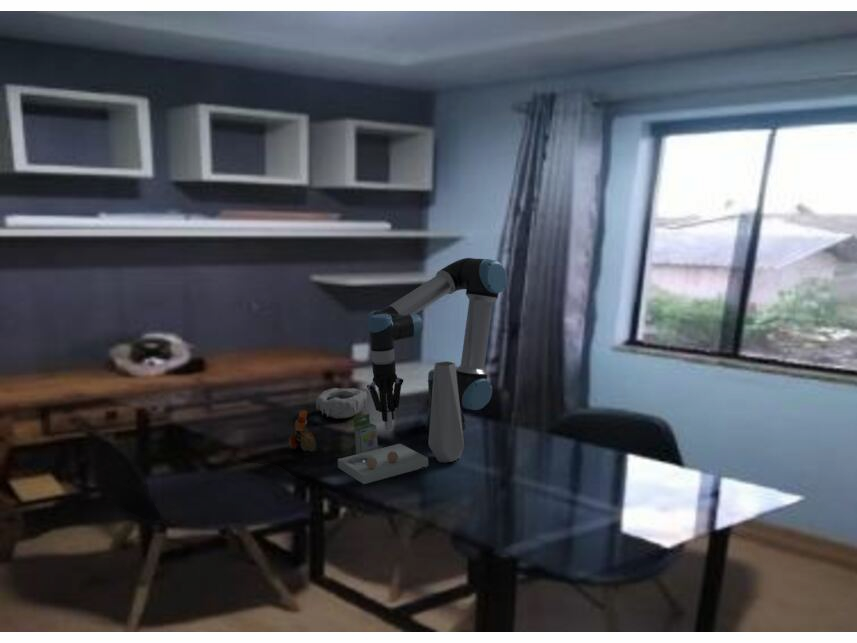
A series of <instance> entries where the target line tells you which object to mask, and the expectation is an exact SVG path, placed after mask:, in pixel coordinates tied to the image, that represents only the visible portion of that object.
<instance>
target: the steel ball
mask: <svg viewBox="0 0 857 643" xmlns="http://www.w3.org/2000/svg"><path fill="white" fill-rule="evenodd" d="M365 462H366V461H365V460H364V459H359V460H357V463H365Z"/></svg>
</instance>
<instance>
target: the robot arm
mask: <svg viewBox="0 0 857 643" xmlns="http://www.w3.org/2000/svg"><path fill="white" fill-rule="evenodd" d="M507 284H508V273H507V271H506V269H505V267H504V265H503V264H502V263H501V262H500V261H498V260H496V259H491V258H473V257H465V258H462V259H458V260H456V261H453V262H452V263H450V264H448V265H446V266H445V267H442V268H441V269H440V270H439V271H437V272H436V274H435V276H434V277H431V279H429V280H428V281H426V282H424V283H423V284H421V285H419V286H418V287H417V288H415V289H413V290H412V291H411V292H409V293H407V294H405V295H404V296H402V297H401V298H399V299H398V300H396V301H394V302H393V303H391V304H389V305H388V306H386V307H385V308H383V309H382V310H373V311H370V312H369V313H368V314H367V315H366V319H365V324H366V327H367V329H368V331H369V342H370V352H371V362H372V364H371V366H372V374H373V378H372V382H371V383H370V384H367V385H366V388H367V390H368V391H369V393H370V396H371V399H372V402H373V404H374V409H375V410H376V411H378V412H379V413H381V419H382V420H381V421H383V422H384V430H386V431H388V432H392V431H394V426H393V421H394V420H395V411H396V409H397V408H399V406H400V398H401V397H400V396H401V390H402V385H403V383H404V379H403V378H400V377H398V375H397V374H396V371H397V370H396V361H395V360H396V358H395V356H396V355H395V344H394V342H396V341H397V342H398V341H401V340H404V339H409V338H414V337H417V336H419V335H421V334H422V333H423V330H424V323H423V320H422V317H421V316H420V315H419V314H417V313H420V312H421V311H422V310H424V309H425V308H427V307H428V306H430V305H431V304H433V303H434V302H436V301H438V300H439V299H440V298H442V297H444V296H446V295H452V294H453V293H455V292H457V291H460V290H461V291H462V290H465V295H466V297H467V299H468V300H469V301H468V306H467V314H466V315H467V316H466V322H465V330H464V337H463V346H462V352H461V359H460V360H461V361H460V366H455V367H456V376H457V384H458V393H459V403H460V412H461V421H462V430H463V431H464V430H465V429H466V427H467V426H466V419H465V416H464V414H463V411H462V409H461V407H462V408H464V409H466V410H472V411H477V410H478V411H479V410H481V409H484V407H485V406H486V405H488V403H490V400H491V398H492V394H493V386H492V384H491V382H490V381H489V380H488V375H489V374H488V372H487V370H486V369H485V365H486V359H487V358H486V357H487V356H486V355H487V350H488V342H489V336H490V329H491V328H490V326H491V319H492V312H493V305H494V302H495V301H497V300H499V299H498V298H499V293H502V292H503V291H504V289H505V288H506V286H507ZM427 376H428V377H427V386H428V388H427V389H428V403H429V408H428V412H427V415H426V416H427V417H426V420H425V429H426V430H427V432H429V427H430V415H431V402H432V390H433V378H434V368H433V369H430V370H429V371H428V374H427ZM378 393H379V394H378Z"/></svg>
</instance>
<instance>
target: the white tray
mask: <svg viewBox="0 0 857 643" xmlns="http://www.w3.org/2000/svg"><path fill="white" fill-rule="evenodd" d="M392 451H393V452H396V453H397V455H398V459H397V461H396V462H390V461H388V459H387V455H388V453H389V452H392ZM371 457H372V458H375V459H376V460H377V465H376V467H375V468H373V469H370V468H368V467H367V465H366V462H365V463H357V460H359V459H364V460H365V461H367V459H368V458H371ZM427 466H428V467H429V457H428V456H425V455H423V454H422V453H420V452H417V451H415V449H414V450H413V449H411V448H410V447H408V446H406V445H404V444H402V443H398V444H397V443H395V444H393V445H389V446H385V447H382V448H381V447H380V448H378V449H376V450H372V451H368V452H364V453H360V454H356V453H355V454H353V455H352V454H351V455H350V456H345V457H342V458H337V468H338V469H340V471H342V472H344V473H345V474H347V475H349V476H350V477H352V478H353V479H355V480H356V481H358V482H360V483H361V484H362V485H366V484H370V483H373V482H377V481H380V480H384V479H388V478H392V477H395V476H399V475H403V474H405V473H410V472H414V471H417V470H420V468H421V469H423V468H422V467H425V468H427Z"/></svg>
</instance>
